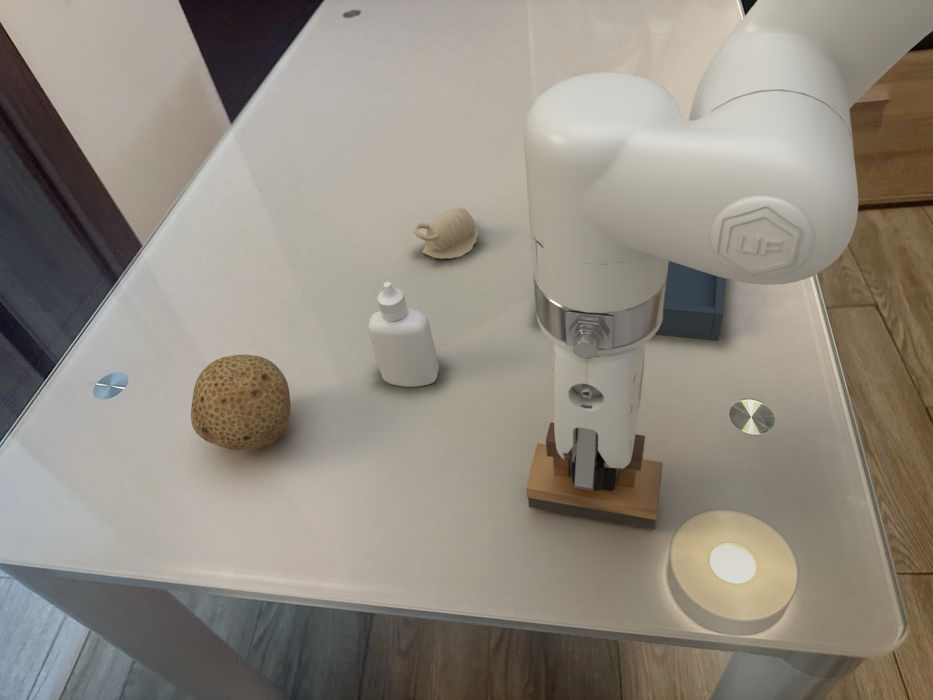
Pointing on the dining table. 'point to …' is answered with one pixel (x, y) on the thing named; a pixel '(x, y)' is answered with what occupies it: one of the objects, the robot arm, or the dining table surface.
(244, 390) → the natural sponge
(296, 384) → the dining table surface
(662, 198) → the robot arm
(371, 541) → the dining table surface
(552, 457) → the brush
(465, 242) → the decorative ornament
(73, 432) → the dining table surface
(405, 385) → the eye dropper bottle
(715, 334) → the tray
